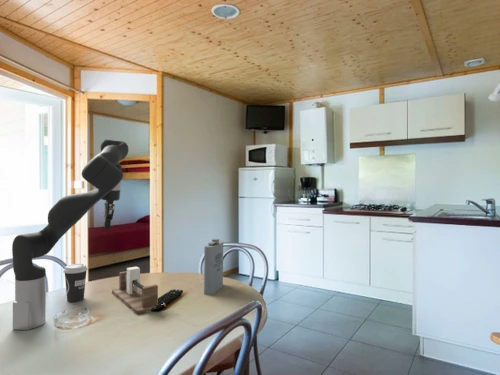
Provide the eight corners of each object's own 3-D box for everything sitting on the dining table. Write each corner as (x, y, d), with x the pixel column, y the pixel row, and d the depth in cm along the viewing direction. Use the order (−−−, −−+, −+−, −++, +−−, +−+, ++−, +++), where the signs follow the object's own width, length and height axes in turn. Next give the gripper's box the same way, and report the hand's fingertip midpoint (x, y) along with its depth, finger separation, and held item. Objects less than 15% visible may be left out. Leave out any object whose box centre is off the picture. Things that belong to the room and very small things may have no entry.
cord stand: (165, 307, 136) (165, 284, 136) (137, 314, 128) (137, 290, 128) (137, 288, 161) (137, 268, 160) (112, 293, 153) (112, 272, 153)
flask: (212, 295, 151) (212, 241, 151) (202, 294, 153) (203, 241, 152) (225, 284, 168) (225, 236, 168) (217, 283, 169) (217, 235, 169)
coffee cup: (69, 305, 137) (69, 269, 137) (59, 300, 143) (59, 266, 143) (91, 299, 145) (91, 265, 145) (81, 294, 151) (81, 262, 151)
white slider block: (139, 292, 148) (139, 268, 148) (129, 294, 145) (129, 269, 145) (136, 290, 151) (136, 266, 151) (126, 292, 148) (126, 268, 148)
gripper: (122, 191, 131) (118, 233, 133) (118, 187, 143) (114, 225, 144) (102, 189, 128) (98, 232, 129) (99, 185, 139) (95, 225, 140)
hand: (106, 229), depth 137 cm, fingers closed
